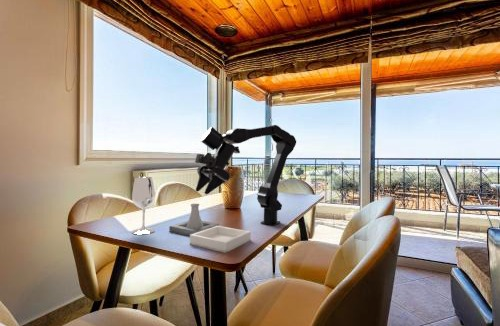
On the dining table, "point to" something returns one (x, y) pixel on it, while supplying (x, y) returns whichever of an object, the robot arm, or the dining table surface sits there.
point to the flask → (194, 218)
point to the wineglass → (143, 199)
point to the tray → (220, 238)
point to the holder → (183, 229)
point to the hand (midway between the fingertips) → (200, 192)
